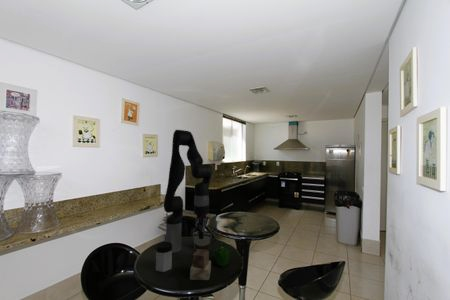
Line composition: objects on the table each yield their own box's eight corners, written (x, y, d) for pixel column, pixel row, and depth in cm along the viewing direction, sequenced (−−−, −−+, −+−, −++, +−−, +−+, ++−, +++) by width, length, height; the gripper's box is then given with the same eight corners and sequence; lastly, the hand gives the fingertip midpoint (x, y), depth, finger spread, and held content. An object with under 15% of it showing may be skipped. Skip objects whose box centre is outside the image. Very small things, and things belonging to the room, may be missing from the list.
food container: (212, 246, 140) (213, 230, 141) (211, 250, 134) (211, 234, 134) (194, 245, 142) (194, 229, 142) (192, 249, 135) (192, 233, 136)
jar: (151, 270, 110) (152, 246, 111) (161, 262, 118) (161, 240, 118) (166, 273, 108) (167, 249, 108) (175, 265, 116) (175, 242, 116)
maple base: (190, 279, 103) (190, 269, 103) (193, 269, 112) (193, 260, 112) (208, 280, 102) (208, 270, 102) (210, 270, 111) (210, 260, 111)
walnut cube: (192, 266, 105) (192, 254, 105) (197, 261, 111) (198, 249, 111) (203, 268, 103) (204, 256, 104) (208, 263, 109) (208, 251, 109)
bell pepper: (218, 259, 123) (218, 241, 123) (231, 262, 120) (231, 244, 120) (211, 266, 115) (211, 247, 115) (225, 269, 112) (226, 250, 112)
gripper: (199, 200, 115) (199, 233, 115) (188, 206, 103) (188, 242, 102) (213, 201, 113) (212, 234, 113) (203, 207, 100) (203, 244, 100)
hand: (201, 238), depth 107 cm, fingers closed
